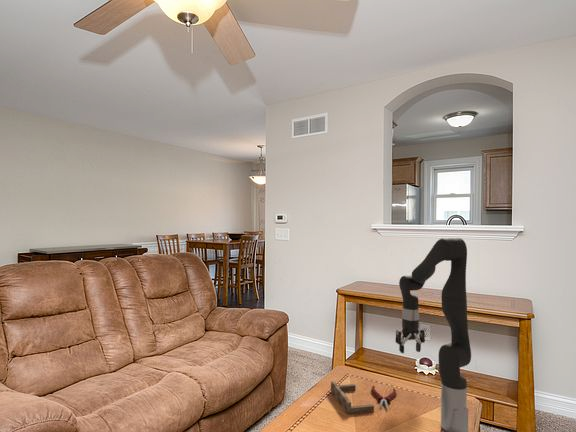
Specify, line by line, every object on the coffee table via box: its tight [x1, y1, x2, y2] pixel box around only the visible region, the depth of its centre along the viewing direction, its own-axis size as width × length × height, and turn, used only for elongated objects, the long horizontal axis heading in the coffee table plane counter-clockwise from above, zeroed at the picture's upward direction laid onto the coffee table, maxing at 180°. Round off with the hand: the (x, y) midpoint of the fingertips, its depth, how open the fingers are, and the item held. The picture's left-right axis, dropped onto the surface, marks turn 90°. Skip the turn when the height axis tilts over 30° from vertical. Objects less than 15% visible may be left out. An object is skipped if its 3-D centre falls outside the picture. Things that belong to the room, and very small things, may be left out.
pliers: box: [370, 385, 397, 410], centre depth 163 cm, size 12×20×3 cm, turn 165°
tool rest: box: [330, 380, 375, 415], centre depth 161 cm, size 21×12×5 cm, turn 13°
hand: (410, 352), depth 169 cm, fingers open, 8 cm apart
